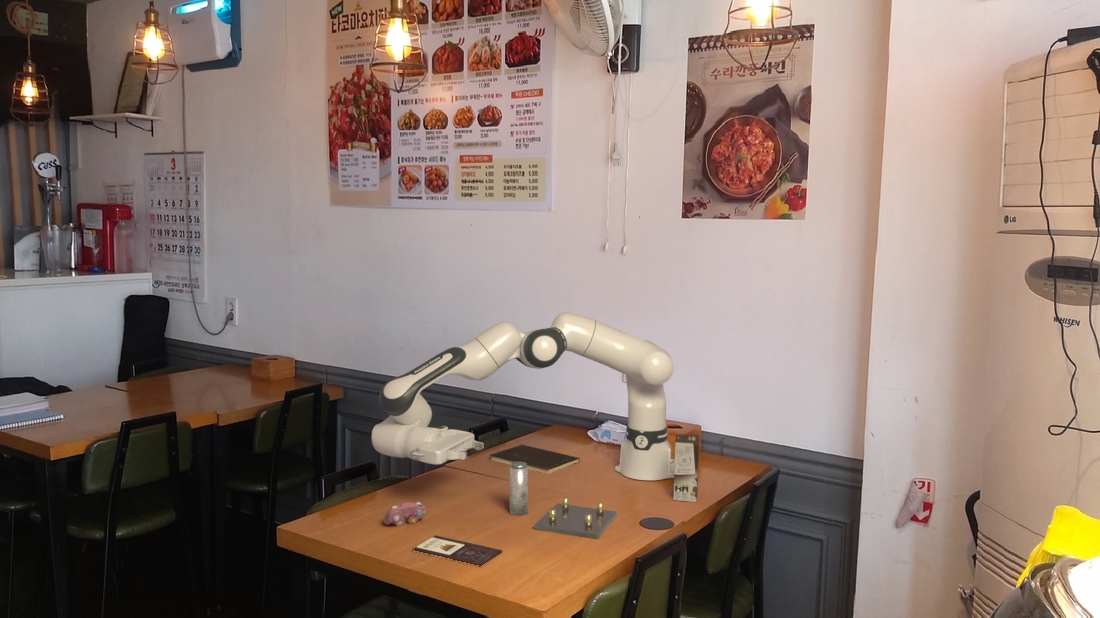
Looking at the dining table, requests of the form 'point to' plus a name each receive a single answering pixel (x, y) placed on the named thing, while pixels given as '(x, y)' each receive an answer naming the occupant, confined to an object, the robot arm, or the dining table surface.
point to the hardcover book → (535, 458)
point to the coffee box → (686, 467)
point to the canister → (518, 488)
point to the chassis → (576, 520)
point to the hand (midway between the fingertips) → (474, 451)
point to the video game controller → (405, 513)
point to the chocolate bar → (458, 550)
